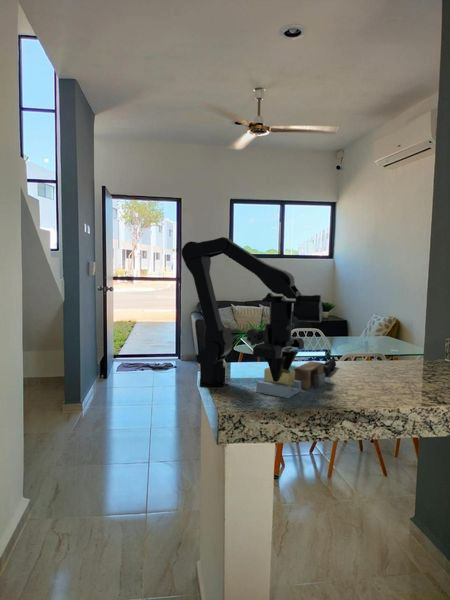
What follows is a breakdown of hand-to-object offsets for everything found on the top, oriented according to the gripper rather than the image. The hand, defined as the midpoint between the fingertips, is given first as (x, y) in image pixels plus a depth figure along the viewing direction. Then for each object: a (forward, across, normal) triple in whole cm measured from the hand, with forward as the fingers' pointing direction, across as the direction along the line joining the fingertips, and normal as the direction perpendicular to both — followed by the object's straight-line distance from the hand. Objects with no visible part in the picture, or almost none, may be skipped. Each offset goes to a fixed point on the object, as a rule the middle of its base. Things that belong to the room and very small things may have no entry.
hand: (278, 379), depth 109 cm
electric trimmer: (+4, -30, +2) cm, 30 cm away
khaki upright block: (+1, 0, 0) cm, 1 cm away
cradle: (+3, 0, 0) cm, 3 cm away
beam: (+3, -12, +4) cm, 13 cm away
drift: (+3, -11, +3) cm, 12 cm away
